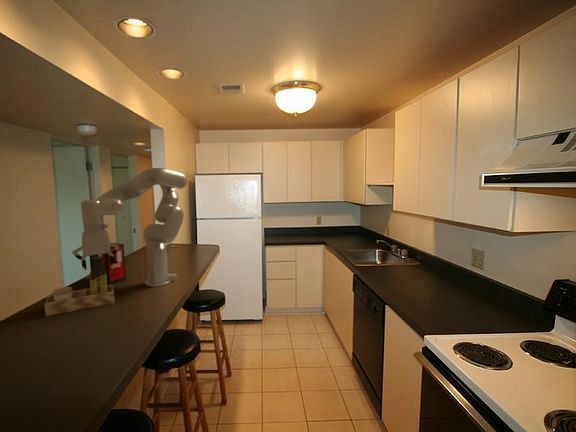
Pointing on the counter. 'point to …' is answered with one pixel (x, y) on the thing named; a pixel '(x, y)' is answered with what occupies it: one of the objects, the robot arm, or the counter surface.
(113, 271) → the cleaning product box
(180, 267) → the counter surface
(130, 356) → the counter surface
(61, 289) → the jar
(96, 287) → the sauce bottle
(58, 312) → the caddy
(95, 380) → the counter surface
